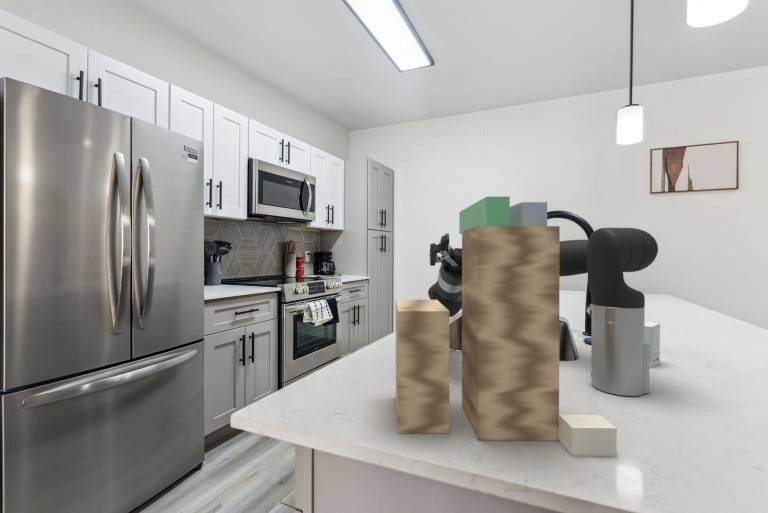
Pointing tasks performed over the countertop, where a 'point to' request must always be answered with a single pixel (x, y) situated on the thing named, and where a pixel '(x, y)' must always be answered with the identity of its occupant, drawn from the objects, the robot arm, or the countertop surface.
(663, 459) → the countertop surface
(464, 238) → the oak shelf block
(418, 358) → the oak ledge
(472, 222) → the green bar
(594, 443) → the cream brick
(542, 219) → the slate-blue brick
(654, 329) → the skincare box
